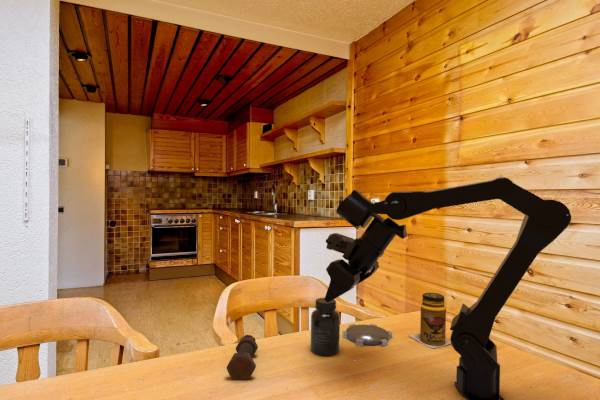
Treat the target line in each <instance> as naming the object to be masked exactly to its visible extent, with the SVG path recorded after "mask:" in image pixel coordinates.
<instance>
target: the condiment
mask: <svg viewBox="0 0 600 400" xmlns="http://www.w3.org/2000/svg"><path fill="white" fill-rule="evenodd" d="M421 296H422V300H421V302H422V303H421V305H420V324H419V325H420V328H419V329H420V330H419V331H420V332H419V333H416V334H412V335H408V337H410V338H411V339H413V340H415V341H418V342H419V343H420V344H422V345H424V346H427V347H429V348H430V349H435V348H441V347H445V346H448V345H452V344H451V340H448V339H446V338H447V337H446V331H447V329H446V327H447V325H446V322H447V320H446V319H447V309H446V306H445V296H444V295H442V294H441V293H436V292H424V293H423V294H422V295H421ZM419 337H420V339H419Z"/></svg>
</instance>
